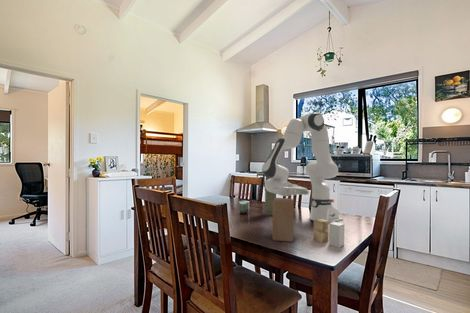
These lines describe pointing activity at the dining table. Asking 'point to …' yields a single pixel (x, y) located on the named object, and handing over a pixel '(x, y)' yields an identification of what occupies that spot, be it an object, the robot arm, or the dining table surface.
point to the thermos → (268, 200)
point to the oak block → (321, 230)
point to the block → (283, 219)
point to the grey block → (336, 234)
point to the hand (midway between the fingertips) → (302, 192)
